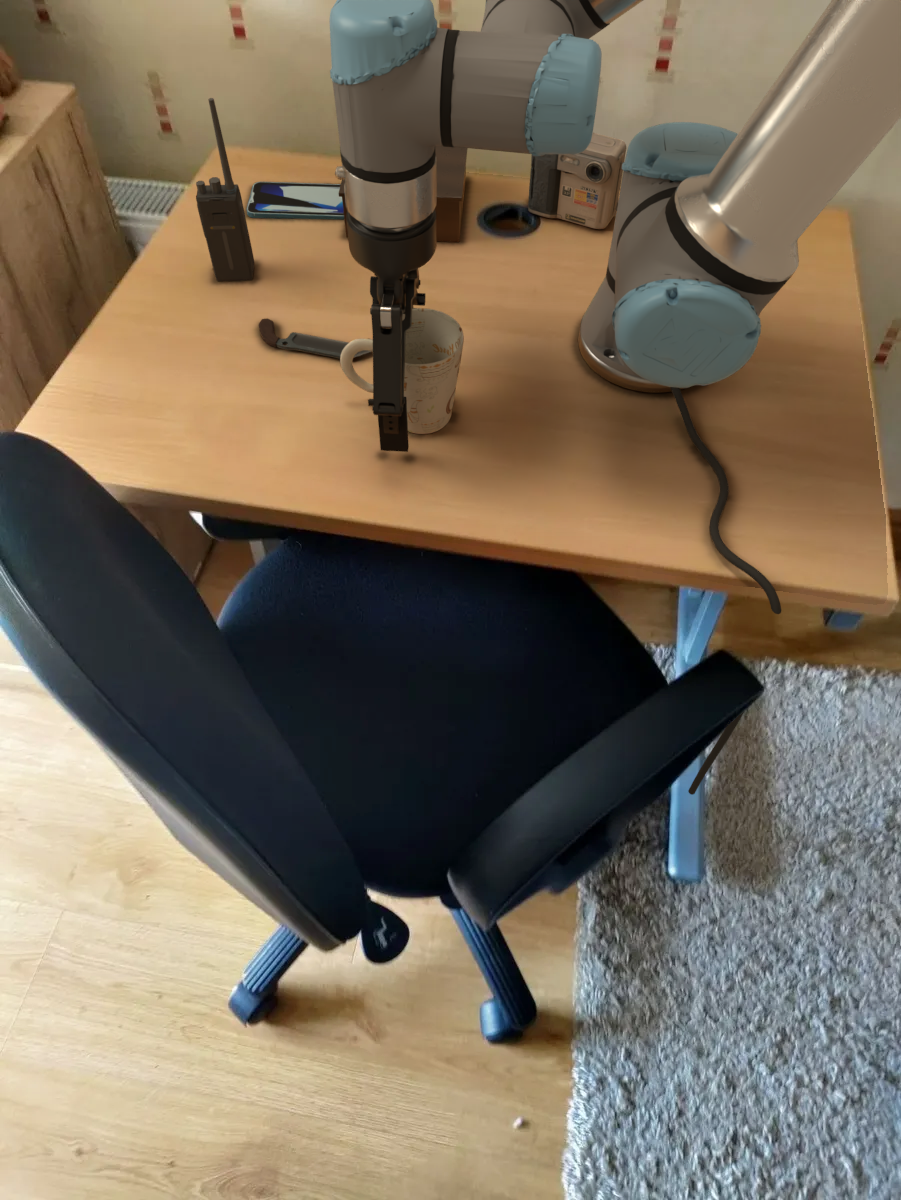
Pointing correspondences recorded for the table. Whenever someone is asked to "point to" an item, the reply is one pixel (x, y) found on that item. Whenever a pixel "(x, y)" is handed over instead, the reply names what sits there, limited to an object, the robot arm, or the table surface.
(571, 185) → the camera
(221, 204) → the walkie-talkie
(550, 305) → the table surface
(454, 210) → the stand
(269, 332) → the knife
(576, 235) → the table surface
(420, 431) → the mug
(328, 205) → the smartphone
